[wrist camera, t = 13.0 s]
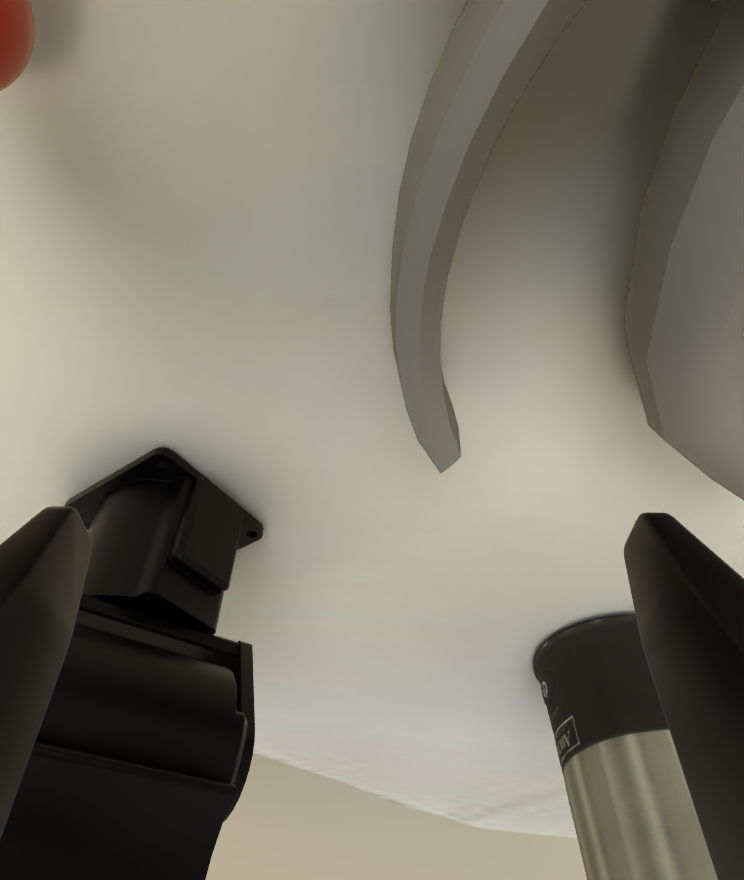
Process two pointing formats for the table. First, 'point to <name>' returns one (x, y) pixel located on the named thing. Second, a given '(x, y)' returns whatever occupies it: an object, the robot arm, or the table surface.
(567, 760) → the milk frother
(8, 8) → the tap lever
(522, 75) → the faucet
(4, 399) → the table surface
